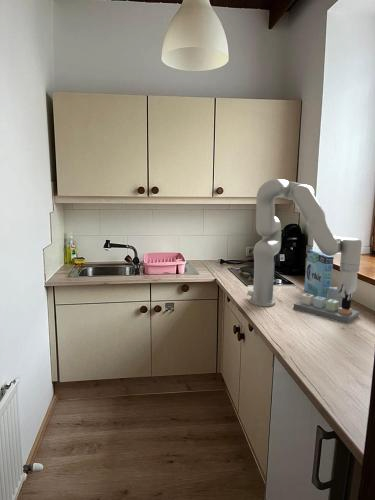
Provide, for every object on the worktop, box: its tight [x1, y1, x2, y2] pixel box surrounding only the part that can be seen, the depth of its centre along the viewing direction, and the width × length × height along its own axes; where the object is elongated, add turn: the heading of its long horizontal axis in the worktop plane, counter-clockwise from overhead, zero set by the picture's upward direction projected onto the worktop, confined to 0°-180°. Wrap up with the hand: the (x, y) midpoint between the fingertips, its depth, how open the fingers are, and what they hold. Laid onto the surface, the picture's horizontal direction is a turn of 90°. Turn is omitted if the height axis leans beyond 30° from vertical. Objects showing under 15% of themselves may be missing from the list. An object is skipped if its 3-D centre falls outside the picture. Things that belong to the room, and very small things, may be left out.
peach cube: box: [339, 307, 353, 315], centre depth 150 cm, size 4×4×4 cm
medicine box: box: [327, 286, 342, 307], centre depth 165 cm, size 8×4×9 cm, turn 74°
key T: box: [313, 296, 326, 308], centre depth 157 cm, size 4×4×4 cm
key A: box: [326, 299, 339, 312], centre depth 153 cm, size 4×4×4 cm
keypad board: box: [292, 299, 360, 325], centre depth 156 cm, size 25×12×2 cm, turn 44°
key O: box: [301, 292, 315, 305], centre depth 161 cm, size 4×4×4 cm
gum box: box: [303, 249, 335, 301], centre depth 179 cm, size 20×5×23 cm, turn 6°
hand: (345, 308), depth 149 cm, fingers closed
